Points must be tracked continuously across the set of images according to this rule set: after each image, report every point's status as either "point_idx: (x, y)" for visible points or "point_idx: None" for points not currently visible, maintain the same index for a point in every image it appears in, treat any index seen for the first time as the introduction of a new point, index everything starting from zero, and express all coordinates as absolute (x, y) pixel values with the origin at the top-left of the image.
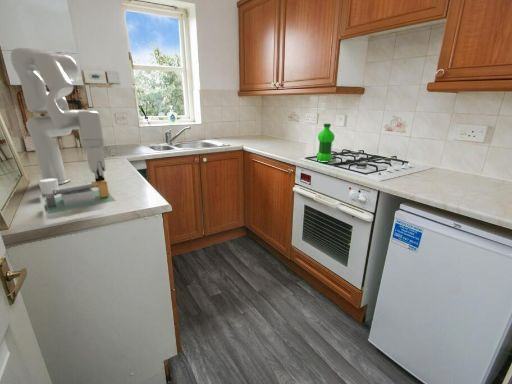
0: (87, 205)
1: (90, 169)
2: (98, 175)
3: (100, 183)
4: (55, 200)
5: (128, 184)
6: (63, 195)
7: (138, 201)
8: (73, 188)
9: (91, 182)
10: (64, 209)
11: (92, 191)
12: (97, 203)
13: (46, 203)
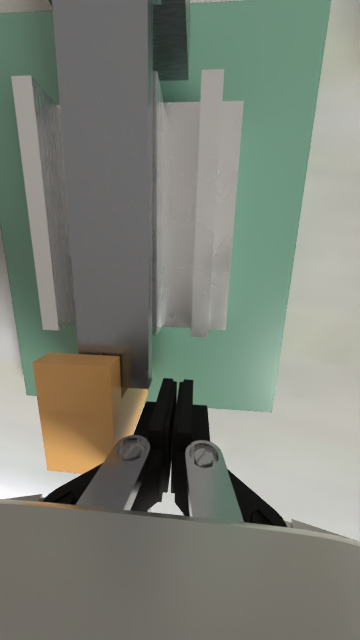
0: (15, 261)
1: (88, 556)
2: (52, 494)
3: (48, 418)
4: (245, 84)
5: (329, 519)
6: (27, 85)
7: (28, 461)
8: (97, 184)
9: (100, 365)
10: (6, 129)
11: (45, 324)
12: (24, 313)
13: (211, 8)
